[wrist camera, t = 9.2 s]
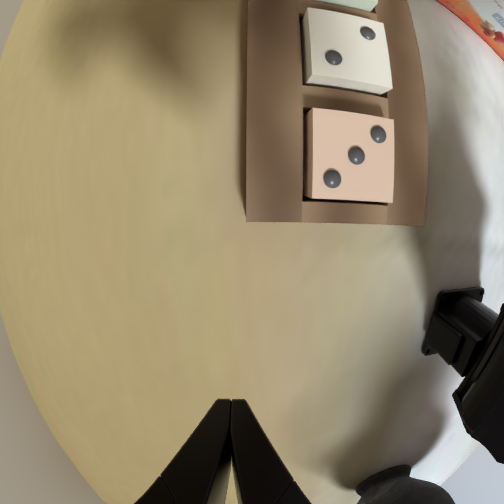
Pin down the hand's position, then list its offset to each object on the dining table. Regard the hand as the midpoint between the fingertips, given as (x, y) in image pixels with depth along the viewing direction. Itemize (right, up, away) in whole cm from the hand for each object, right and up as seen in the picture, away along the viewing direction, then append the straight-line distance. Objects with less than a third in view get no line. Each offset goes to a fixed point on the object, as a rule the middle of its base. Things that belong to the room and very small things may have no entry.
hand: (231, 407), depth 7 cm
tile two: (+6, +17, +7) cm, 20 cm away
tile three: (+6, +11, +9) cm, 15 cm away
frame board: (+6, +17, +8) cm, 20 cm away
